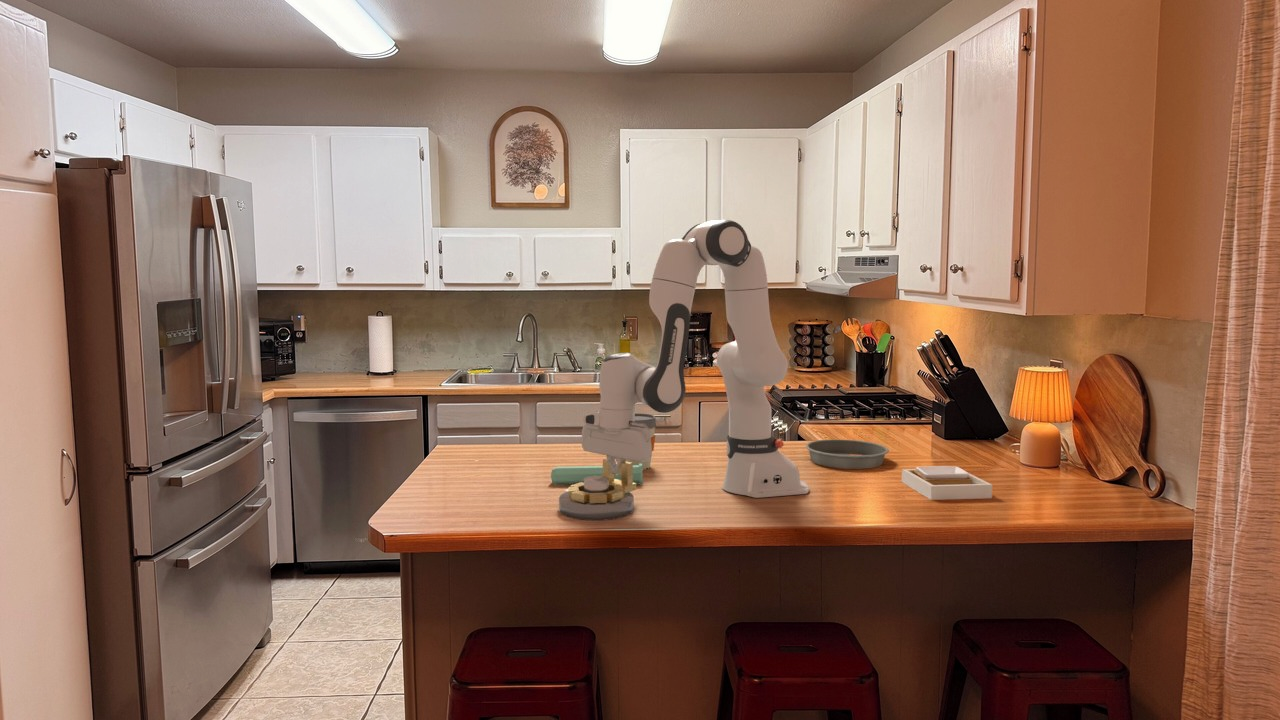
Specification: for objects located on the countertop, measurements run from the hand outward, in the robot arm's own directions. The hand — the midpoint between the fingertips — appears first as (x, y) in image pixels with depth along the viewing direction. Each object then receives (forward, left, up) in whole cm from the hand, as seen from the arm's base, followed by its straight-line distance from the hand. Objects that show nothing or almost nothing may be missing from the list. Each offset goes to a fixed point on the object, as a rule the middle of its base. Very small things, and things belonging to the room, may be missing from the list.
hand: (615, 474), depth 203 cm
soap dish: (-87, -6, -8) cm, 88 cm away
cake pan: (-73, -40, -8) cm, 83 cm away
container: (+4, -20, -8) cm, 21 cm away
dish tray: (-87, -4, -7) cm, 87 cm away
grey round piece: (+5, +5, -7) cm, 10 cm away
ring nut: (+4, +4, -4) cm, 7 cm away
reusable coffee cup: (-8, -38, -7) cm, 39 cm away
